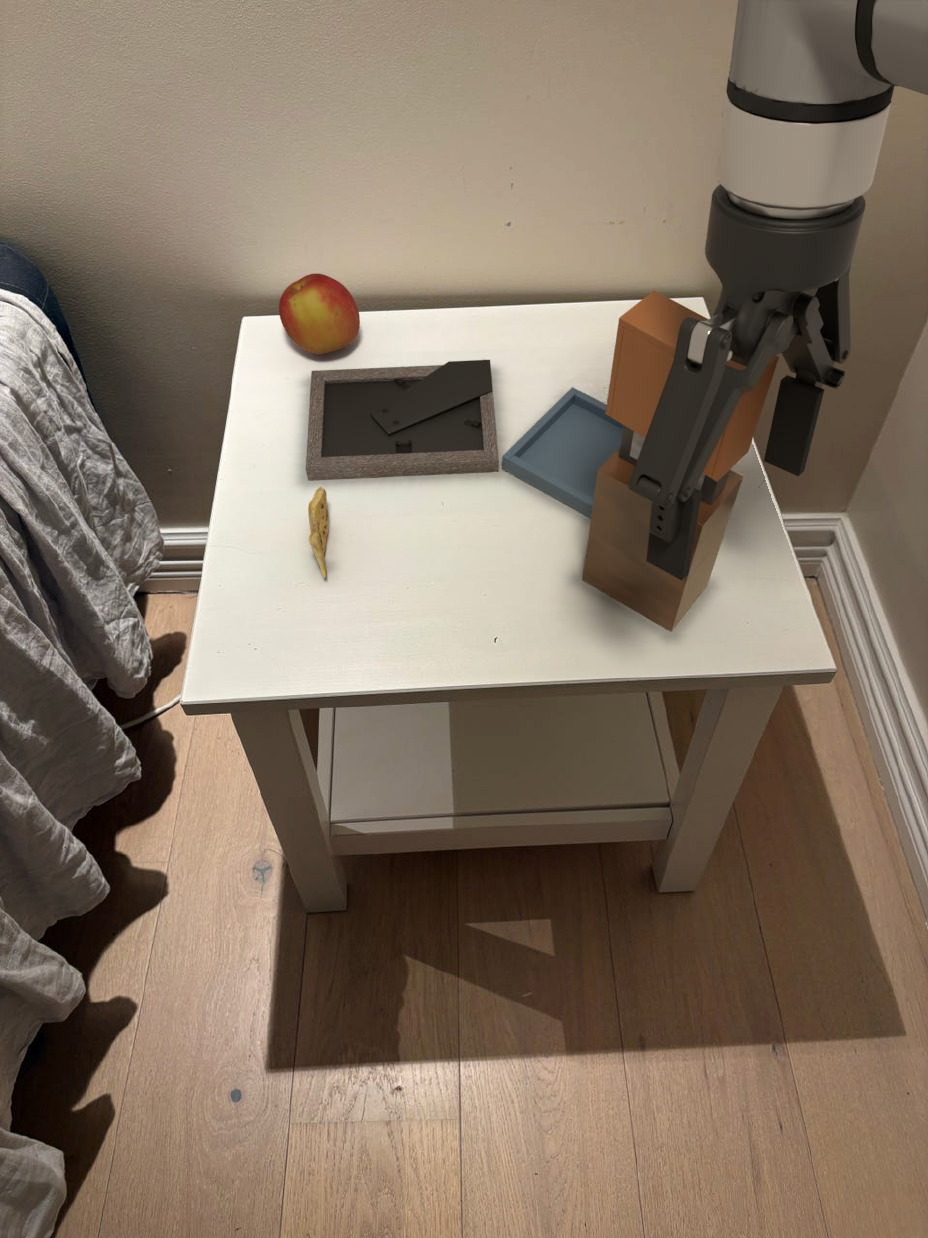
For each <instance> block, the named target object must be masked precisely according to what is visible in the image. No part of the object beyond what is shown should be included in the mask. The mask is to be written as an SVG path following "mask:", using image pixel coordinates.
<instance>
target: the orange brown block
mask: <svg viewBox="0 0 928 1238" xmlns="http://www.w3.org/2000/svg"><path fill="white" fill-rule="evenodd" d="M688 316H691V317H694V318H696V319H699V320H702V321H706V320H708V319H709V318H707V317H705V316H703V315H701V314H700V313H698V312H696V311H694V310H692V309H690V308H689V307H687V306H685V305H682V304H680V303H679V302H677V301H675V300H674V299H671V298H670V297H667V296H666V295H664V294H662V293H660V292H658V291H657V290H652V291H651V292H650V293H649V294H647V295H646V296H645V297H643V299H641V300H640V301H638V302H637V303H636V304H635V305H633V306H632V307H631V308H630V309H628V310H627V311H626V312H624V313H623V314H622V315H620V316H619V317H618V323H617V324H618V325H617V329H616V338H615V345H614V352H613V357H612V366H611V372H610V377H609V386H608V392H607V393H608V394H607V400H606V404H607V406H606V413H605V414H606V415H608V416H610V417H611V418H613V419H615V420H616V421H618V422H620V423H621V424H623V425H624V426H626V427H628V428H629V429H631V430H633V431H634V432H636V433H638V434H639V435H641V436H642V437H644V438H646V435H647V432H648V429H649V427H650V424H651V421H652V419H653V416H654V413H655V410H656V408H657V405H658V402H659V399H660V397H661V394H662V391H663V388H664V386H665V383H666V380H667V377H668V375H669V372H670V369H671V366H672V364H673V361H674V355H675V350H676V344H677V339H678V333H679V329H680V326H681V324H682V322H683V321H684V319H685V318H686V317H688ZM779 358H780V356H779V355H778V354H777V355H775V356H774V357H773V358H772V359H771V360H770V361H769V362H768V364H767V366H766V368H765V370H764V372H763V374H762V376H761V378H760V380H759V382H758V384H757V386H756V387H755V388H754V389H753V390H751V391H746V392H744V393H743V395H742V396H741V398H740V400H739V402H738V404H737V406H736V408H735V410H734V412H733V414H732V416H731V418H730V420H729V422H728V424H727V426H726V428H725V430H724V432H723V433H722V435H721V437H720V439H719V441H718V443H717V445H716V447H715V449H714V451H713V453H712V455H711V457H710V459H709V461H708V463H707V465H706V467H705V469H704V471H703V474H705V475H707V476H708V477H710V478H712V479H713V480H715V481H716V482H718V481H719V480H720V479H721V478H722V477H723V476H724V475H725V474H726V473H727V472H728V471H729V470H732V468H733V467H734V466H736V465H737V464H738V463H739V462H740V461H741V460H742V459H743V458H744V457H745V456H746V455H747V454H748V453H749V451H750V448H751V445H752V442H753V438H754V436H755V433H756V430H757V427H758V424H759V421H760V417H761V413H762V412H763V408H764V405H765V401H766V399H767V395H768V392H769V389H770V386H771V384H772V380H773V378H774V374H775V371H776V368H777V364H778V362H779ZM726 365H727V366H730V367H732V368H735V369H737V370H744V369H745V368H746V366H744V365H741V364H738V363H736V362H733V361H731V360H729V361H728V362H726Z"/></svg>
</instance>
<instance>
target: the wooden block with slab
mask: <svg viewBox="0 0 928 1238" xmlns="http://www.w3.org/2000/svg"><path fill="white" fill-rule="evenodd" d="M644 440H645V438H644V437H642V436H641V435H639V434H638V433H636V432H634V431H633V430H631V429H629V428H628V427H626V426H624V427H623V433H622V438H621V444H620V447H619V448H618V449H617V450H616V451H615V452H614V453H613V454H612V456H611V457H610V458H609V459H608V460H607V461H606V462H605V463H604V464H603V465H602V466H601V467H600V468H599V470H598V474H597V481H596V488H595V495H594V501H593V508H592V515H591V518H590V521H589V522H590V523H589V530H588V537H587V544H586V550H585V551H586V552H585V558H584V564H583V570H582V571H583V572H582V579H581V580H582V581H583V582H585V583H587V584H589V585H590V586H592V587H594V588H595V589H597V590H599V591H600V592H602V593H604V594H606V595H607V596H609V597H611V598H612V599H614V600H616V601H617V602H619V603H621V604H623V605H624V606H626V607H628V608H629V609H631V610H633V611H635V612H636V613H638V614H640V615H642V616H643V617H645V618H646V619H648V620H650V621H652V622H653V623H655V624H657V625H659V626H660V627H662V628H664V629H665V630H666V631H669V632H673V631H674V629H675V628H676V627H677V626H678V625H679V623H680V622H681V621H682V619H683V618H684V617H685V616H686V614H687V613H688V612H689V610H690V609H691V608H692V606H693V605H694V604H695V602H696V601H697V600H698V599H699V598H700V596H701V595H702V593H703V592H704V591H705V590H706V589H707V587H708V585H709V583H710V579H711V575H712V573H713V570H714V566H715V564H716V561H717V558H718V555H719V551H720V548H721V545H722V543H723V539H724V536H725V533H726V530H727V527H728V524H729V521H730V518H731V515H732V512H733V509H734V507H735V503H736V500H737V498H738V497H737V496H738V493H739V491H740V488H741V484H742V482H743V478H744V475H742V474H740V473H738V472H736V471H734V470H732V469H730V470H729V471H728V472H727V473H726V474H725V475H724V476H723V477H722V478H721V479H720V480H719V481H718V482H716V481H715V480H713V479H712V478H710V477H708V476H707V475H705V474H703V473H702V475H701V477H700V479H699V480H698V482H697V484H696V486H695V488H696V489H698V490H700V491H702V494H701V501H700V507H699V513H698V519H697V526H696V532H695V538H694V545H693V551H692V557H691V564H690V570H689V574H688V575H687V576H686V577H685V578H684V579H683V580H680V579H678V578H676V577H674V576H673V575H671V574H669V573H667V572H665V571H663V570H662V569H660V568H658V567H656V566H654V565H652V564H650V563H649V562H647V561H646V558H647V549H648V540H649V531H650V530H649V523H650V516H651V506H652V501H650V500H648V499H646V498H644V497H642V496H640V495H638V494H636V493H634V492H632V491H630V490H629V487H628V485H629V482H630V479H631V476H632V473H633V471H634V468H635V465H636V462H637V460H638V457H639V454H640V451H641V449H642V446H643V443H644Z"/></svg>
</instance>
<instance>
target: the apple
mask: <svg viewBox="0 0 928 1238" xmlns="http://www.w3.org/2000/svg"><path fill="white" fill-rule="evenodd" d="M278 315H279V319H280V322H281V325H282V326H283V328H284V330H285V332H286V334H287V335H288V337H289V338H290V339H291V340H292V341H293V342H294V344H296V346H297V347H299V348H301V349H302V350H303V351H306V352H308V353H311V354H317V355H325V354H329V353H332V352H334V351H338V350H341V349H344V348H345V347H347V346H349V345H350V344H351V343H353V341H354V340H355V339H356V338H357V336H358V334H359V331H360V324H361V319H360V311H359V308H358V305H357V302H356V301H355V299H354V297H353V295H352V294H351V292H350V291H349V290H348V288H347V287H346V286H345V285H344V284H343V283H342V282H340V281H338V280H336V279H335V278H333V277H331V276H329V275H326V274H323V273H310V274H306V275H305V276H303V277H301V278H299V279H297V280H296V281H293V282H292V283H290V284H289V285H288V286H287V287H286V288H285V289H284V290H283V292H282V293H281V295H280V299H279V303H278Z"/></svg>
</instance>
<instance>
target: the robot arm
mask: <svg viewBox="0 0 928 1238" xmlns="http://www.w3.org/2000/svg"><path fill="white" fill-rule="evenodd" d="M729 64H730V66H729V71H728V78H727V82H726V83H727V84H726V91H725V92H726V99H725V102H724V103H723V104H722V106H721V112H720V116H721V118H722V119H723V120H722V128H721V135H720V141H719V148H718V156H717V163H716V170H715V176H716V179H717V183H719V184H718V185H717V186H716V187H715V188H714V190H713V191H712V194H711V201H710V209H709V214H708V215H709V216H708V222H707V223H708V224H707V231H706V239H705V245H704V255H705V259H706V261H707V263H708V265H709V266H710V268H711V269H712V270H713V272H714V273H715V274H716V275H717V277H718V280H719V282H720V284H721V287H722V288H721V290H720V294H719V298H718V300H717V303H716V306H715V308H714V311H713V314H712V317H710V318H707V319H708V320H706V321H702V320H699V319H696V318H694V317H691V316H688V317H686V318H685V319H684V321H683V322H682V324H681V326H680V329H679V333H678V339H677V344H676V350H675V355H674V361H673V364H672V366H671V369H670V372H669V375H668V377H667V380H666V383H665V386H664V388H663V391H662V394H661V397H660V399H659V402H658V405H657V408H656V410H655V413H654V416H653V419H652V421H651V424H650V427H649V429H648V432H647V435H646V438H645V440H644V443H643V446H642V449H641V451H640V454H639V457H638V460H637V462H636V465H635V468H634V471H633V473H632V476H631V479H630V482H629V485H628V487H629V490H630V491H632V492H634V493H636V494H638V495H640V496H642V497H644V498H646V499H648V500H650V501H652V506H651V516H650V523H649V530H650V531H649V540H648V549H647V558H646V561H647V562H649V563H650V564H652V565H654V566H656V567H658V568H660V569H662V570H663V571H665V572H667V573H669V574H671V575H673V576H674V577H676V578H678V579H680V580H683V579H684V578H685V577H686V576H687V575H688V574H689V570H690V564H691V557H692V551H693V545H694V538H695V532H696V526H697V519H698V513H699V507H700V501H701V494H702V491H700V490H698V489H696V488H695V486H696V484H697V482H698V480H699V479H700V477H701V475H702V473H703V471H704V469H705V467H706V465H707V463H708V461H709V459H710V457H711V455H712V453H713V451H714V449H715V447H716V445H717V443H718V441H719V439H720V437H721V435H722V433H723V432H724V430H725V428H726V426H727V424H728V422H729V420H730V418H731V416H732V414H733V412H734V410H735V408H736V406H737V404H738V402H739V400H740V398H741V396H742V395H743V393H744V392H746V391H751V390H753V389H754V388H755V387H756V386H757V384H758V382H759V380H760V378H761V376H762V374H763V372H764V370H765V368H766V366H767V364H768V362H769V361H770V360H771V359H772V358H773V357H774V356H775V355H777V356H778V355H780V354H781V355H782V357H783V359H784V361H785V363H786V365H787V367H788V369H789V371H790V372H791V373H793V374H795V377H793V376H791V375H789V374H786V375H785V376H784V377H783V378H781V379H780V382H779V387H778V392H777V397H776V401H775V405H774V410H773V414H772V420H771V425H770V429H769V434H768V439H767V444H766V449H765V453H764V458H763V462H765V463H767V464H770V465H771V466H774V467H776V468H778V469H780V470H783V471H785V472H788V473H789V474H792V475H794V476H796V477H800V476H801V475H802V474H803V473H804V472H805V470H806V465H807V461H808V457H809V454H810V449H811V446H812V442H813V438H814V434H815V430H816V425H817V421H818V417H819V414H820V409H821V406H822V402H823V398H824V395H825V394H824V393H825V389H824V388H823V386H827V387H830V388H832V389H835V390H838V389H839V388H840V386H841V385H842V384H843V381H844V380H845V377H846V376H845V375H846V371H845V370H842V369H840V368H837V367H835V366H834V365H835V363H837V364H840V365H843V364H845V362H846V361H847V360H848V359H849V357H850V354H851V349H852V345H851V341H852V339H851V304H850V303H851V300H850V297H851V296H850V273H851V267H852V262H853V259H854V255H855V250H856V247H857V242H858V238H859V234H860V230H861V226H862V222H863V217H864V214H865V213H864V212H865V209H866V204H867V203H866V199H865V197H864V196H863V195H864V194H866V193H867V192H868V191H869V189H870V188H871V186H872V185H873V183H874V178H875V175H876V169H877V166H878V161H879V157H880V152H881V148H882V144H883V139H884V135H885V131H886V127H887V122H888V118H889V115H890V110H891V106H892V99H893V95H894V90H895V87H900V88H904V89H907V90H909V91H913V92H916V93H919V94H922V95H925V96H928V0H737V9H736V16H735V25H734V32H733V40H732V48H731V57H730V63H729ZM729 360H731V361H733V362H736V363H738V364H741V365H744V366H746V368H745V369H744V370H737V369H735V368H732V367H730V366H727V365H726V362H728V361H729Z"/></svg>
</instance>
